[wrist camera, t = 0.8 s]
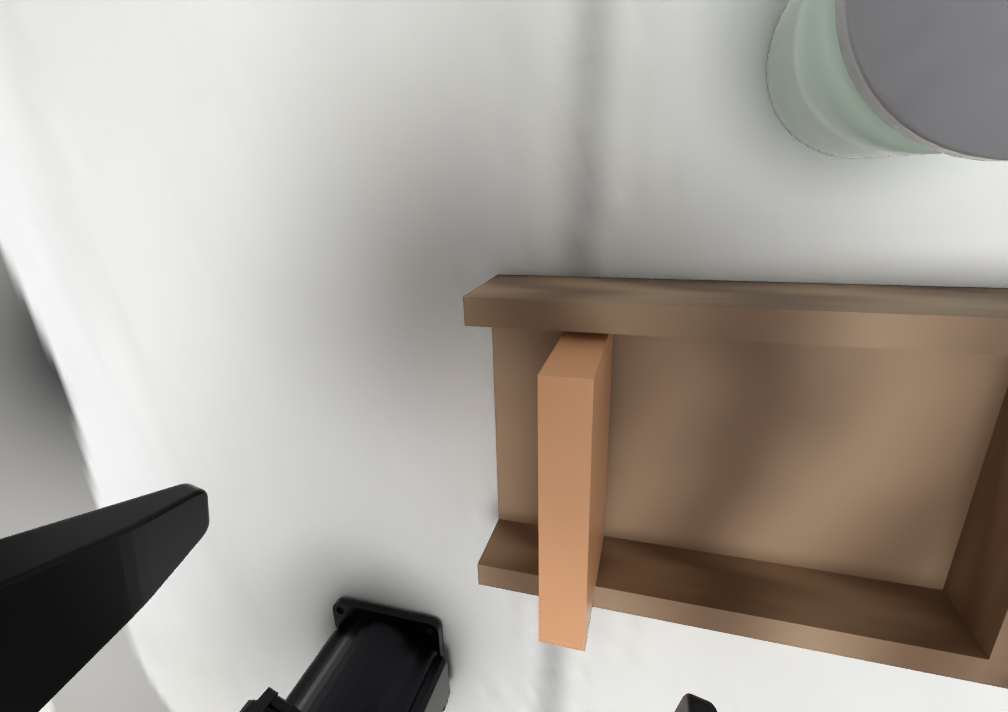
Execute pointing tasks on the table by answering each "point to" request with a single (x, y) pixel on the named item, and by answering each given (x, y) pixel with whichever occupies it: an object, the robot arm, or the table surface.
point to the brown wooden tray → (779, 459)
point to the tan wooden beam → (572, 482)
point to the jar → (893, 77)
